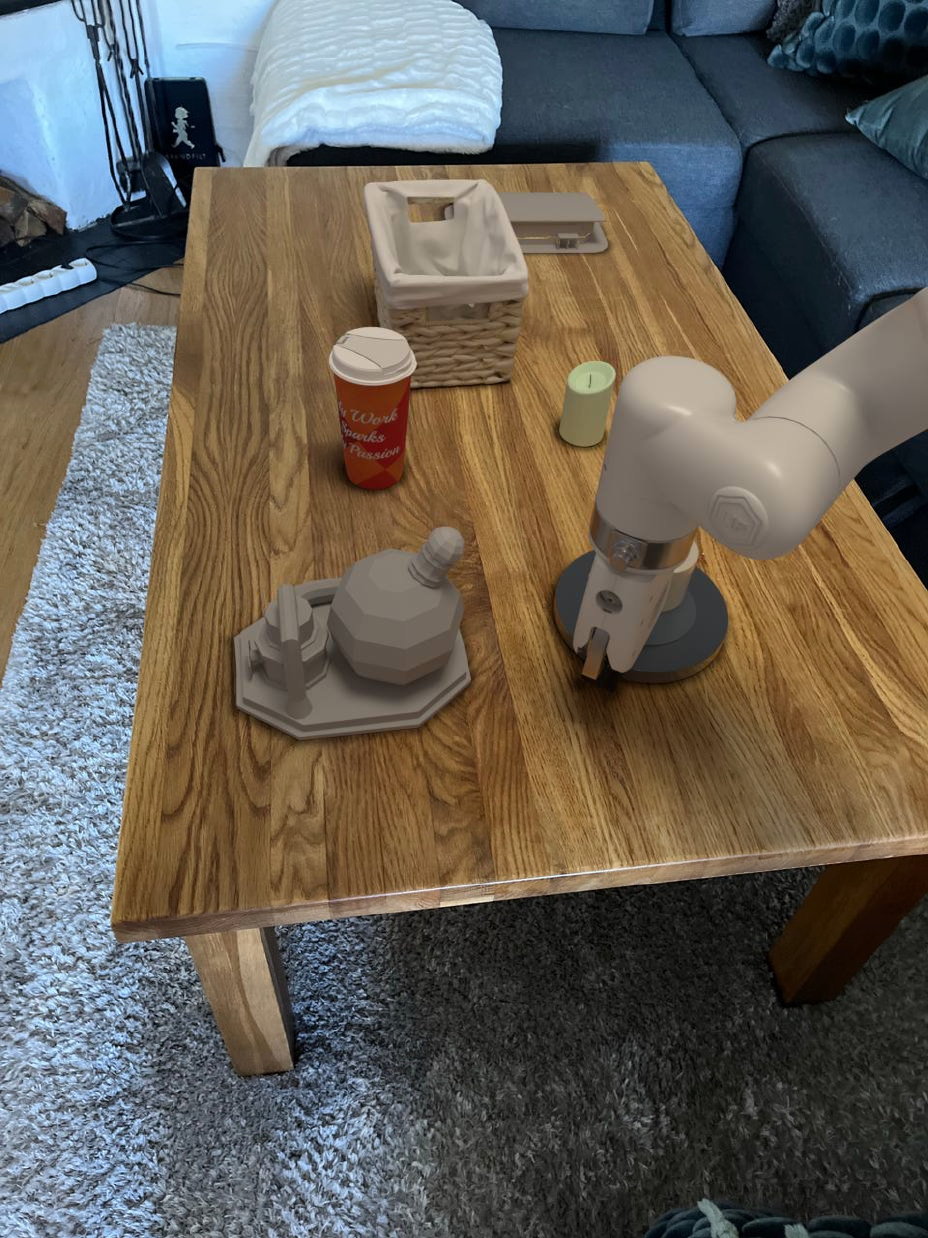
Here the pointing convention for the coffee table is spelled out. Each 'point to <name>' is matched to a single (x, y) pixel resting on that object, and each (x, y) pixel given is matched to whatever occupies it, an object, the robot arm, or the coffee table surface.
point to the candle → (587, 403)
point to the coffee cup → (373, 403)
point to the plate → (655, 626)
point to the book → (553, 221)
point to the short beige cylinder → (681, 580)
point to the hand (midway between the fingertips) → (600, 679)
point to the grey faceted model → (359, 646)
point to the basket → (448, 279)
